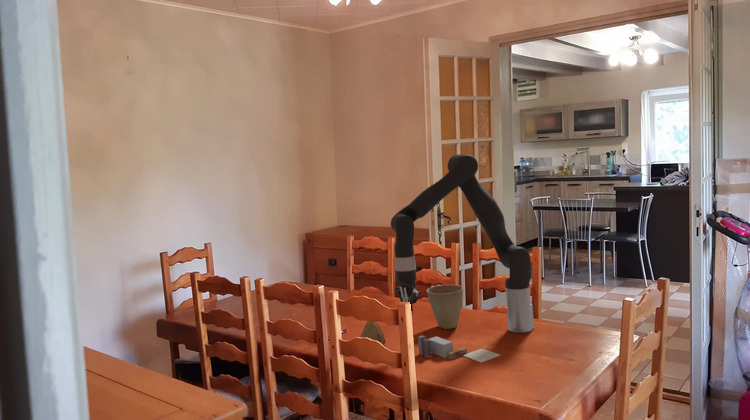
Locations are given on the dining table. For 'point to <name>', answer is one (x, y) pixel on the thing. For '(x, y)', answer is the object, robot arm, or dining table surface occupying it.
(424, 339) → the grey stepped block
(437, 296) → the plant pot
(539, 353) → the dining table surface
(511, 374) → the dining table surface
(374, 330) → the rock
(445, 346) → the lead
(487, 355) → the mat
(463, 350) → the clamp rails
